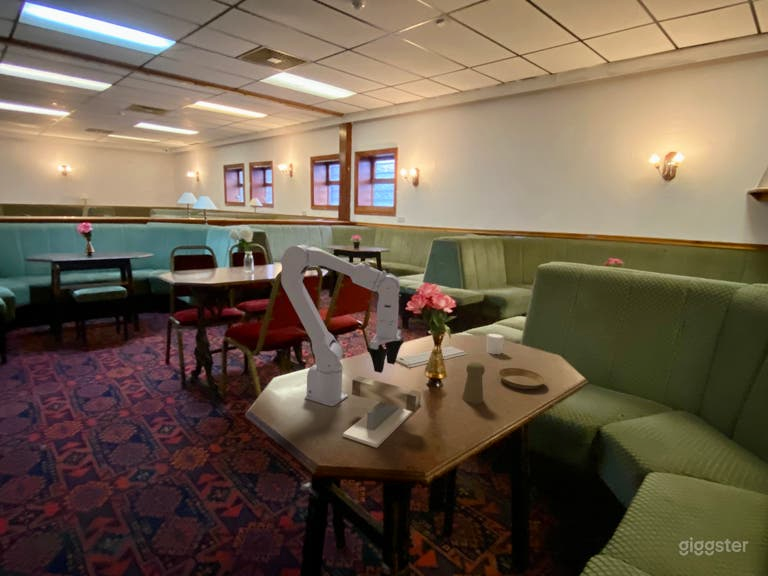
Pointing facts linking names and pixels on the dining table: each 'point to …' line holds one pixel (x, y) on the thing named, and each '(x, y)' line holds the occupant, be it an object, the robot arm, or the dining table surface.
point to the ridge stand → (377, 424)
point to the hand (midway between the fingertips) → (384, 367)
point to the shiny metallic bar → (386, 393)
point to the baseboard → (423, 357)
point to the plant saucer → (513, 372)
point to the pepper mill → (474, 383)
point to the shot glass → (494, 343)
